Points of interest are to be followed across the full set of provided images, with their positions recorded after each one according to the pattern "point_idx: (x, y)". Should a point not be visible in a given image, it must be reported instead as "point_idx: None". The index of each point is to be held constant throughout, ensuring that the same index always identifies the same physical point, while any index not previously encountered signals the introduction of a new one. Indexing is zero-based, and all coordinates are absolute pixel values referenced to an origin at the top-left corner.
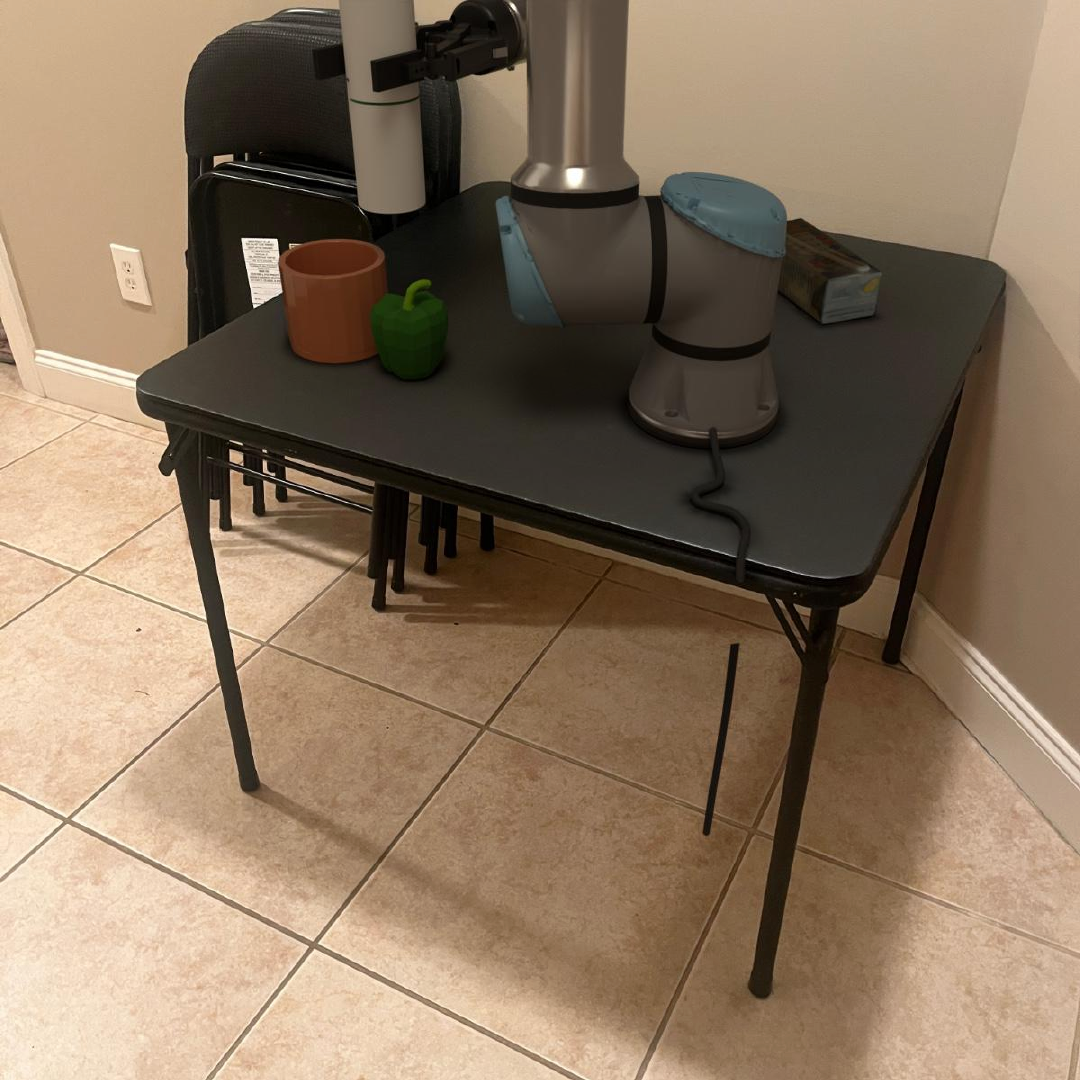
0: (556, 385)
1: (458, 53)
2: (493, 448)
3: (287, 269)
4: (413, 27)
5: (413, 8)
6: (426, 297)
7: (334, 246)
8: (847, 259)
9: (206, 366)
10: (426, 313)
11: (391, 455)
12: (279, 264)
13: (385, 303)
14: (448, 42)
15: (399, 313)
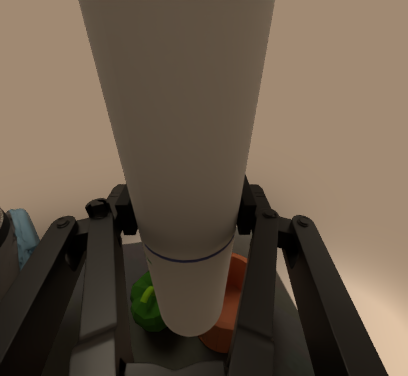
0: (54, 363)
1: (45, 233)
2: (81, 273)
3: (231, 254)
4: (125, 179)
5: (120, 155)
6: (149, 309)
7: None
8: None
9: (247, 249)
10: (134, 286)
11: (125, 246)
12: (242, 256)
13: None
14: (96, 289)
15: (149, 274)
